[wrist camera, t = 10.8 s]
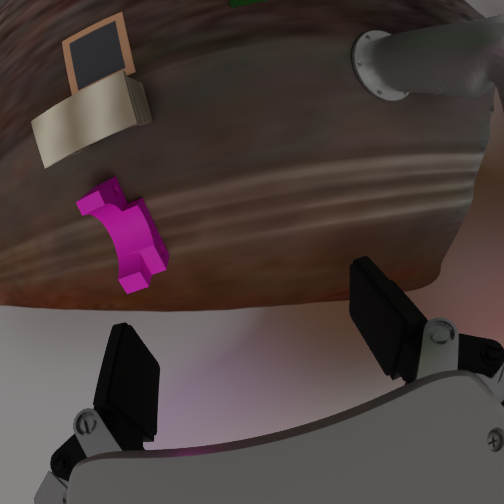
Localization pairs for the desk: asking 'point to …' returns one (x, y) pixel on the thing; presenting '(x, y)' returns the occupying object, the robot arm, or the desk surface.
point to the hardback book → (242, 2)
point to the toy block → (127, 233)
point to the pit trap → (98, 53)
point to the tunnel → (90, 117)
